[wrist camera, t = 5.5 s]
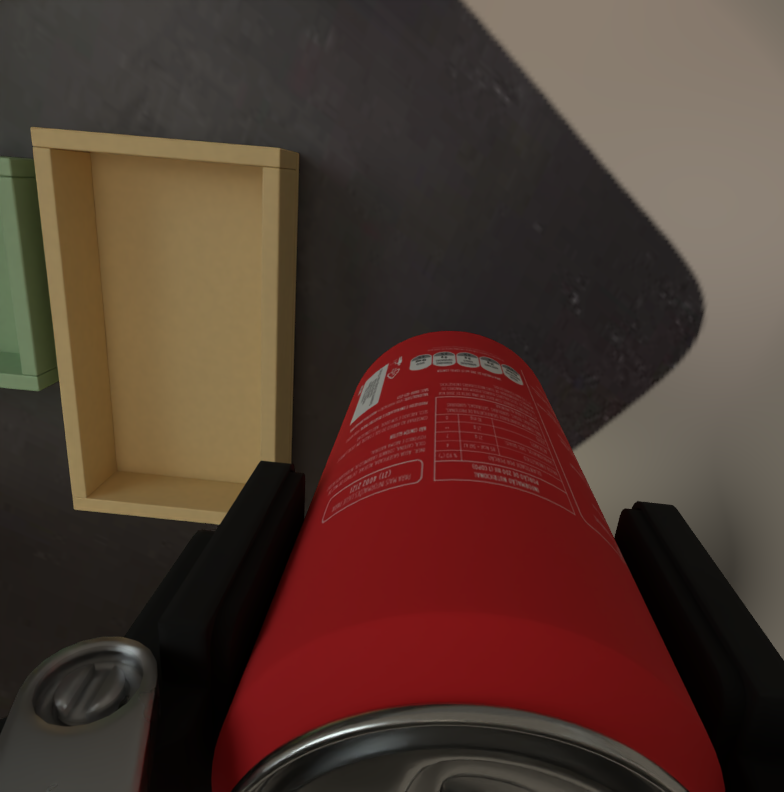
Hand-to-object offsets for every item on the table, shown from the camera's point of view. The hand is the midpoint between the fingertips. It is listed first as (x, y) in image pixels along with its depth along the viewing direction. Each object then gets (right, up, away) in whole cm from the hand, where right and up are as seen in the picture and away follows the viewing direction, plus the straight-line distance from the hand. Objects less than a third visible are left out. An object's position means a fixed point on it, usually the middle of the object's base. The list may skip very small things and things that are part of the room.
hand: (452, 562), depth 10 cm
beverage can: (+1, +2, +7) cm, 7 cm away
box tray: (-9, +6, +14) cm, 18 cm away
